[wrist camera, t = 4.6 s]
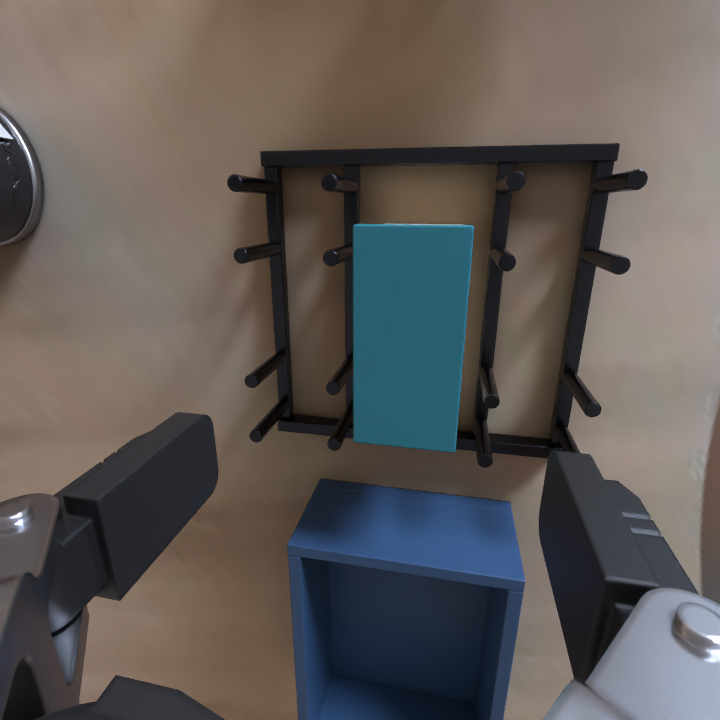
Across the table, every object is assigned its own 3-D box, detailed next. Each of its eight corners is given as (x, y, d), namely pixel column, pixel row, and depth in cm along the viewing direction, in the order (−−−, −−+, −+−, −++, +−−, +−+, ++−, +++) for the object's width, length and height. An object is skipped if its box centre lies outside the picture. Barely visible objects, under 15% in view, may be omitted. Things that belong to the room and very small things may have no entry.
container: (378, 383, 29) (352, 442, 22) (381, 220, 26) (352, 224, 19) (455, 389, 28) (455, 453, 21) (468, 220, 25) (474, 225, 18)
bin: (483, 699, 37) (489, 805, 30) (325, 667, 39) (300, 758, 33) (510, 501, 30) (525, 581, 24) (320, 478, 33) (286, 544, 26)
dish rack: (284, 423, 32) (251, 463, 27) (268, 153, 26) (222, 140, 21) (560, 450, 28) (583, 503, 23) (612, 146, 23) (658, 128, 18)
